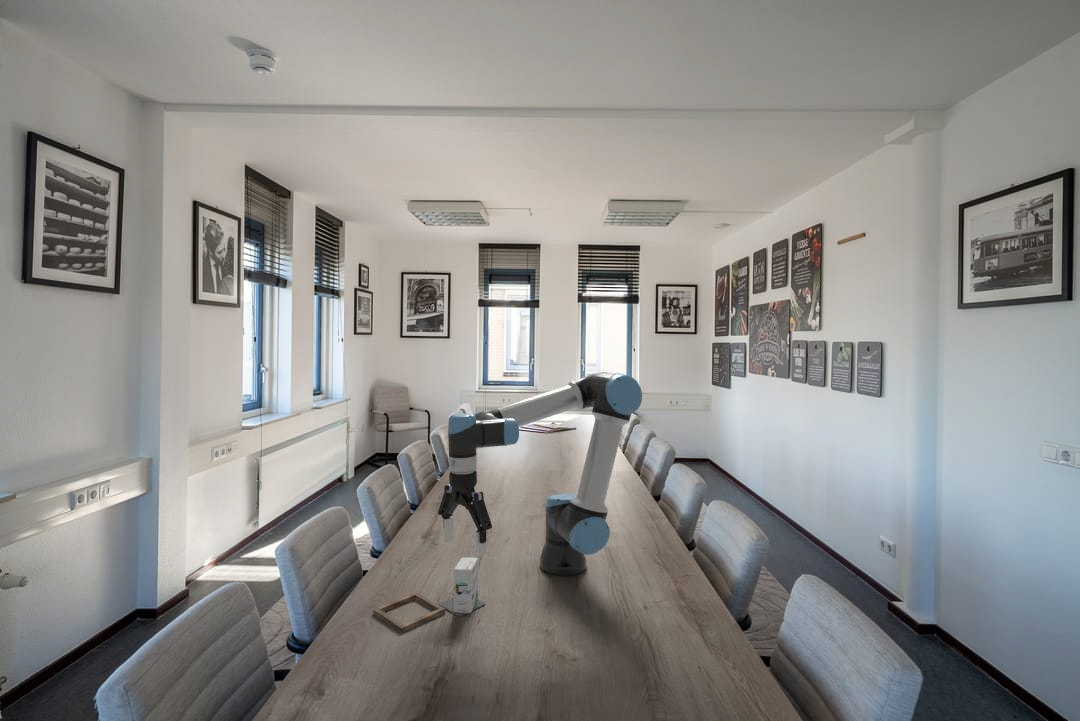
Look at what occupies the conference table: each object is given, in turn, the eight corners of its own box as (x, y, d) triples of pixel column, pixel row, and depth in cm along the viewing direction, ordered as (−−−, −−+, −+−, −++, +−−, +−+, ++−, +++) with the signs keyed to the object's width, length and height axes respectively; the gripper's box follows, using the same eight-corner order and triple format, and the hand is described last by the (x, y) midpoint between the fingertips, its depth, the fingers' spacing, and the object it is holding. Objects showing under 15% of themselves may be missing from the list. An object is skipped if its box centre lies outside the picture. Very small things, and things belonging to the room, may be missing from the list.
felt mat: (464, 594, 150) (464, 592, 150) (485, 604, 144) (485, 603, 144) (438, 605, 143) (438, 603, 143) (459, 617, 137) (459, 615, 137)
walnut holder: (416, 596, 148) (416, 592, 148) (445, 613, 139) (445, 608, 139) (373, 613, 138) (373, 609, 138) (401, 633, 129) (401, 628, 129)
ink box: (461, 597, 147) (461, 556, 147) (478, 598, 147) (478, 557, 146) (452, 612, 139) (453, 568, 138) (471, 614, 138) (471, 570, 138)
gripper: (424, 466, 148) (426, 539, 149) (482, 481, 131) (484, 564, 132) (446, 461, 154) (447, 532, 154) (504, 475, 137) (505, 555, 138)
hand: (464, 547), depth 143 cm, fingers open, 13 cm apart
